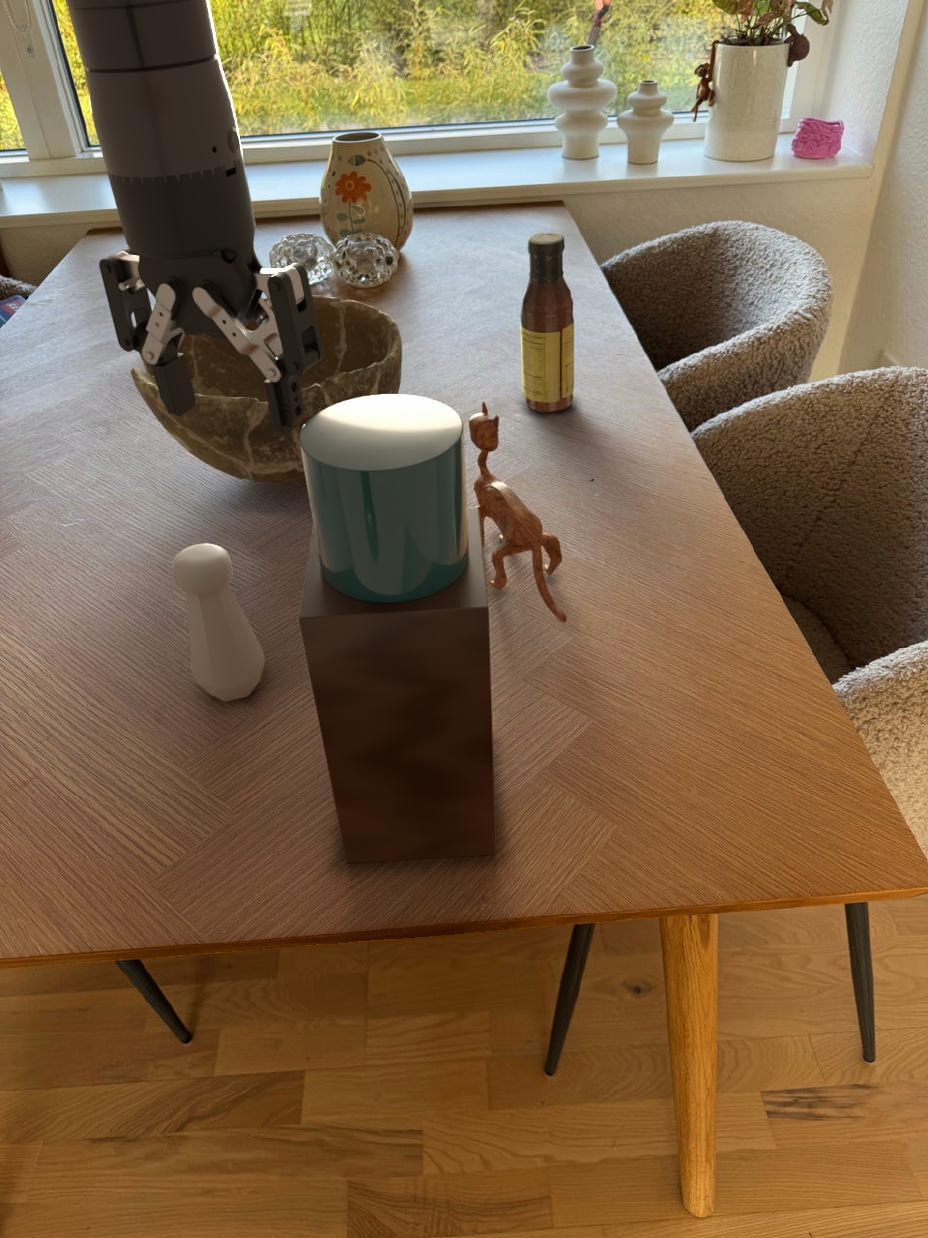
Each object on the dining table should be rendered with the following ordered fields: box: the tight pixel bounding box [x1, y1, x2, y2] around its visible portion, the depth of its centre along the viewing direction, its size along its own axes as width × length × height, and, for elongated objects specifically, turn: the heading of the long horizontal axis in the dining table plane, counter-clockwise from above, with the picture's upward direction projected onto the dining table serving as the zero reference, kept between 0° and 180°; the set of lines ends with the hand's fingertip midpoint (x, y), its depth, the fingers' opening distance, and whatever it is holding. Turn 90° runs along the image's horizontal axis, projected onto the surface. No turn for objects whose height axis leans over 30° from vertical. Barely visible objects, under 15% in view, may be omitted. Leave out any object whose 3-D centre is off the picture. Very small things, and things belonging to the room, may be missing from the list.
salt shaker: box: [171, 542, 266, 703], centre depth 72 cm, size 6×6×13 cm
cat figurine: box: [468, 401, 568, 623], centre depth 81 cm, size 18×7×14 cm, turn 24°
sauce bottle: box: [519, 231, 575, 414], centre depth 107 cm, size 6×6×20 cm
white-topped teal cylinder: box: [299, 393, 469, 603], centre depth 51 cm, size 11×8×8 cm
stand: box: [297, 506, 497, 864], centre depth 59 cm, size 10×10×21 cm
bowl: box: [130, 294, 403, 485], centre depth 99 cm, size 28×27×15 cm
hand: (234, 420), depth 62 cm, fingers open, 8 cm apart
